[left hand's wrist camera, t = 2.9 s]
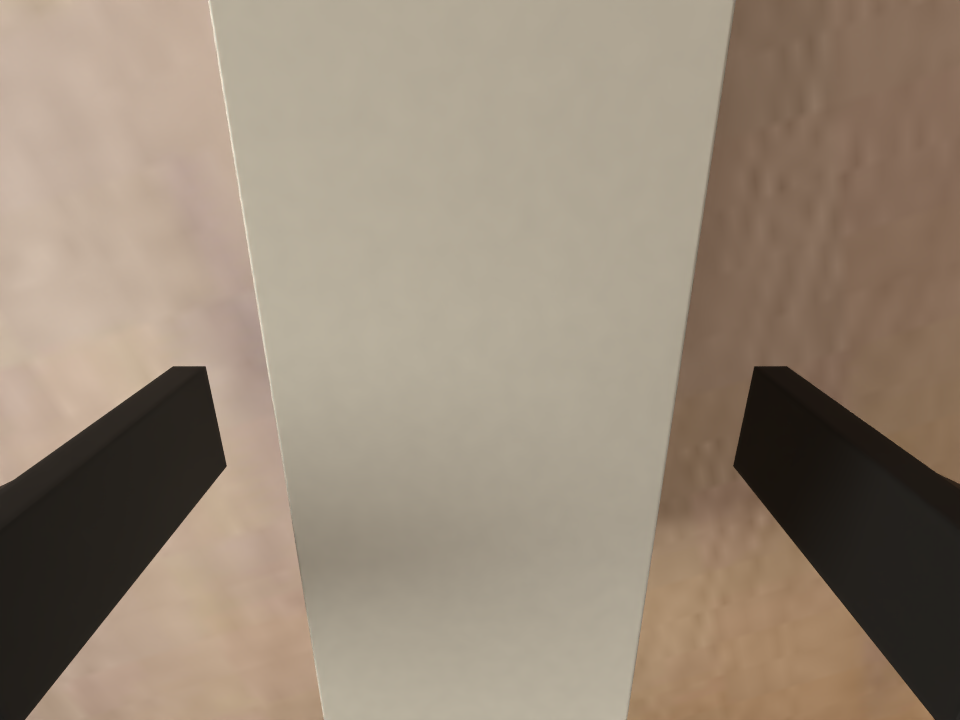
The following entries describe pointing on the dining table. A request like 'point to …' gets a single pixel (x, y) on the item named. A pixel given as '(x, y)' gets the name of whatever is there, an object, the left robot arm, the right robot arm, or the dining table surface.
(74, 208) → the dining table surface
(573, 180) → the bar
